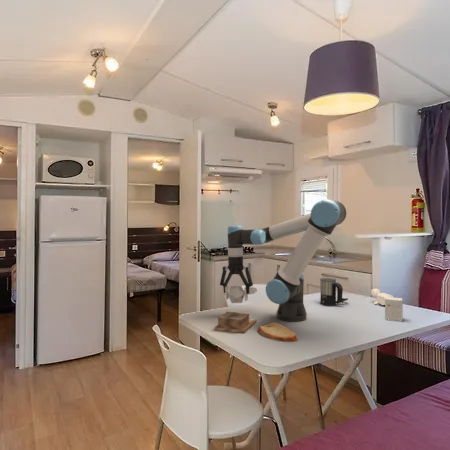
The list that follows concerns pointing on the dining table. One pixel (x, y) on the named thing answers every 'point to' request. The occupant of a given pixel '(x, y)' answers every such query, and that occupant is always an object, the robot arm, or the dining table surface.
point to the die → (236, 294)
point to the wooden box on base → (234, 322)
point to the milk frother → (330, 292)
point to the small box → (393, 308)
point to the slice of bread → (277, 332)
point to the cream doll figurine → (379, 296)
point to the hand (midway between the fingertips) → (236, 299)
